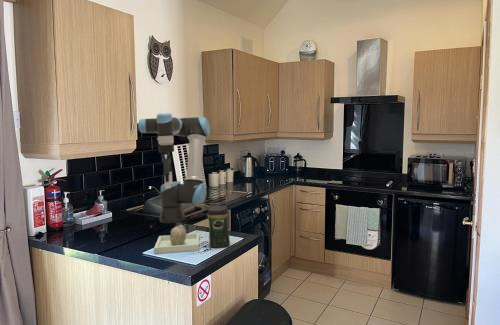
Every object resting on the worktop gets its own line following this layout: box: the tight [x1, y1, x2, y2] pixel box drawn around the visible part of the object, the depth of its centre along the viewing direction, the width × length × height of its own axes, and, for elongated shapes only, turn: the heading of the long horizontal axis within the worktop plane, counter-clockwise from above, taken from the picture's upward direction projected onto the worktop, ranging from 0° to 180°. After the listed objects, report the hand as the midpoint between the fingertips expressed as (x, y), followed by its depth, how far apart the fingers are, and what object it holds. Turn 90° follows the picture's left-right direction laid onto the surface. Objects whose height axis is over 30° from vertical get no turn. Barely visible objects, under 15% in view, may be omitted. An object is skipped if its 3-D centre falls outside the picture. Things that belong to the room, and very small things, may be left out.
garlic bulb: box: [170, 224, 187, 246], centre depth 179 cm, size 9×8×10 cm
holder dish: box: [153, 232, 200, 255], centre depth 179 cm, size 19×19×3 cm
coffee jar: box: [206, 205, 231, 248], centre depth 177 cm, size 10×8×19 cm
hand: (168, 186), depth 195 cm, fingers open, 13 cm apart
